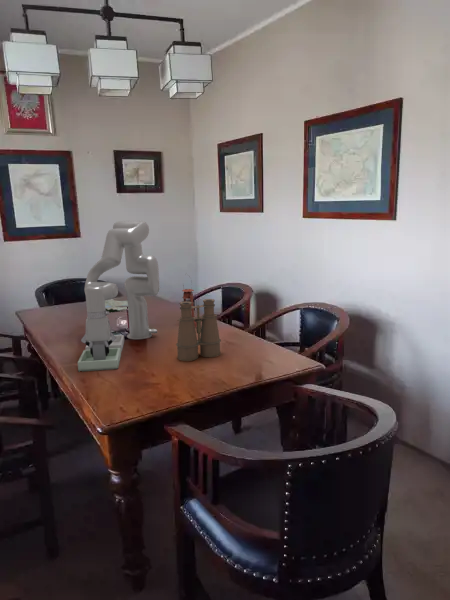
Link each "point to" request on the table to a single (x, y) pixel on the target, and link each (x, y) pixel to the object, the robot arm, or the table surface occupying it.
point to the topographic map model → (112, 303)
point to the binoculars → (208, 330)
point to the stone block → (99, 350)
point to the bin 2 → (99, 361)
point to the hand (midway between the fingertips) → (100, 355)
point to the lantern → (189, 295)
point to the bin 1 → (115, 342)
